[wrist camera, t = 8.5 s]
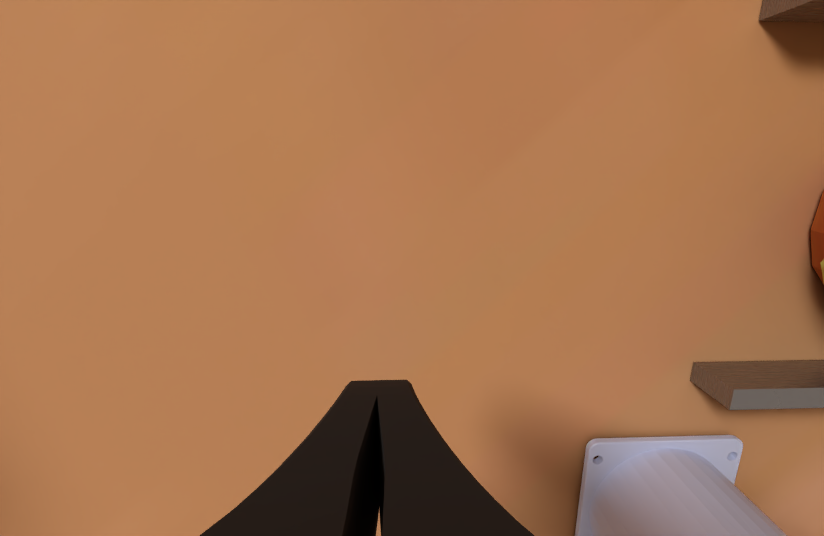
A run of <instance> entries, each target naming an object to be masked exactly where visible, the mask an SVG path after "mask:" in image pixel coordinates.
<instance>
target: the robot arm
mask: <svg viewBox="0 0 824 536" xmlns="http://www.w3.org/2000/svg"><path fill="white" fill-rule="evenodd" d="M742 449H743V443H742V441H741V440H740V439H738V438H737V437H736V436H734V435H707V436H669V437H630V438H596V439H592V440H591V441H589V442H588V444H587V446H586V451H585V459H584V467H583V475H582V483H581V491H580V499H579V506H578V514H577V522H576V530H575V536H787V535H786V534H785V533H784V532H783V531H782V530H781V529H780V528H779V527H778V526H777V525H776V524H775V523H774V522H773V521H771V520H770V519H769V518H768V517H767V516H766V515H765V514H764V513H763V512H762V511H761V510H760V509H759V508H758V507H757V506H756V505H755V504H754V503H753V502H752V501H751V500H749V499H748V498H747V497H746V496H745V495H744V494H743V493H742V492H741V491H740V490H739V489H738V488H737V487H736V486H735V485H734V483H735V478H736V474H737V470H738V466H739V461H740V457H741V453H742ZM595 456H598V457H597V458H596V459H593V458H594V457H595ZM379 508H380V524H381V536H534V535H533V534H532V533H531V532H530V531H528V530H527V529H526V528H525V527H524V526H522V525H521V524H520V523H519V522H518V521H517V520H516V519H515V518H514V517H512V516H511V515H510V514H509V513H508V512H507V511H506V510H505V509H504V508H503V507H502V506H501V505H500V504H499V503H498V502H497V501H496V500H495V499H494V498H493V497H492V496H491V495H490V494H489V493H488V492H487V491H486V490H485V489H484V488H483V487H482V486H481V484H480V483H479V482H478V481H477V480H476V479H475V478H474V477H473V476H472V474H471V473H470V472H469V471H468V470H467V469H466V467H465V466H464V465H463V464H462V463H461V461H460V460H459V459H458V458H457V456H456V455H455V454H454V453H453V451H452V450H451V449H450V447H449V446H448V445H447V443H446V442H445V441H444V439H443V438H442V436H441V435H440V434H439V432H438V431H437V429H436V428H435V426H434V425H433V423H432V422H431V420H430V419H429V417H428V416H427V414H426V412H425V411H424V409H423V407H422V405H421V404H420V402H419V400H418V398H417V396H416V394H415V392H414V389H413V387H412V384H411V383H410V382H409V381H408V380H374V381H351V382H350V383H349V384H348V385H347V386H346V387H345V389H344V390H343V391H342V393H341V394H340V396H339V397H338V399H337V400H336V401H335V403H334V404H333V405H332V407H331V408H330V409H329V411H328V412H327V413H326V414H325V416H324V417H323V418H322V419H321V421H320V422H319V423H318V424H317V425H316V427H315V428H314V429H313V430H312V431H311V433H310V434H309V435H308V436H307V437H306V439H305V440H304V441H303V442H302V443H301V444H300V445H299V446H298V447H297V448H296V449H295V451H294V452H293V453H292V454H291V455H290V456H289V457H288V458H287V459H286V460H285V461H284V462H283V463H282V464H281V466H280V467H279V468H278V469H277V470H276V471H275V472H274V473H273V474H272V475H271V476H269V477H268V478H267V479H266V480H265V481H264V482H263V483H262V484H261V485H260V486H259V487H258V488H257V489H256V490H255V491H254V492H252V493H251V494H250V495H249V496H248V497H247V498H246V499H245V500H244V501H242V502H241V503H240V504H239V505H238V506H237V507H236V508H234V509H233V510H232V511H231V512H230V513H228V514H227V515H226V516H224V517H223V518H222V519H221V520H219V521H218V522H217V523H215V524H214V525H213V526H211V527H210V528H209V529H208V530H206V531H205V532H204V533H202V534H201V535H200V536H376V529H377V521H378V513H379Z"/></svg>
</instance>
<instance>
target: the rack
mask: <svg viewBox="0 0 824 536" xmlns="http://www.w3.org/2000/svg"><path fill="white" fill-rule="evenodd" d="M759 21H791V22H824V0H763V2H762V7H761V13H760V18H759ZM690 381H691V382H693V383H694V384H695V385H697V386H698V387H699V388H701V389H702V390H703V391H705V392H706V393H707V394H709V395H710V396H711V397H713V398H714V399H715V400H717V401H718V402H720V403H721V404H722V405H724V406H725V407H726V408H728V409H729V410H749V409H792V408H824V360H794V361H739V362H694V363H693V368H692V373H691V378H690Z"/></svg>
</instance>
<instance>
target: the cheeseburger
mask: <svg viewBox="0 0 824 536" xmlns="http://www.w3.org/2000/svg"><path fill="white" fill-rule="evenodd" d="M811 249H812V266H813V268H814V269H815V271H816V273H817V274H818V276H819V278H820V279H821V281H822V283H823V285H824V191H823V194H822V197H821V200H820V203H819V206H818V209H817V212H816V215H815V218H814V221H813V224H812V227H811Z"/></svg>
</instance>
